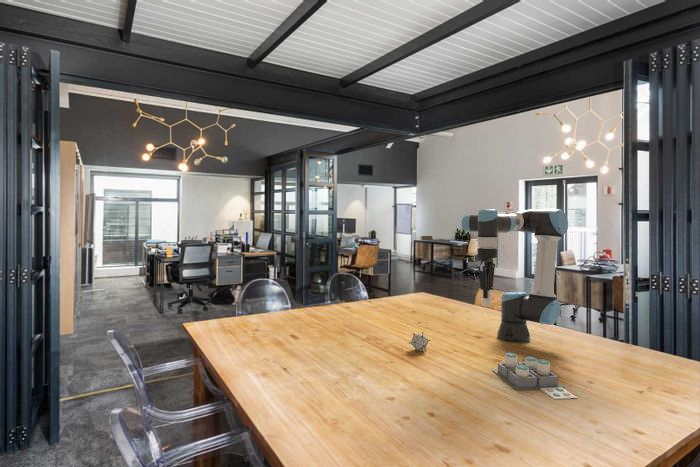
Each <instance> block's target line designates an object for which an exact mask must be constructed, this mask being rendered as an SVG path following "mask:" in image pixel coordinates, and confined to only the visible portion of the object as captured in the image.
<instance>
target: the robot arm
mask: <svg viewBox="0 0 700 467" xmlns="http://www.w3.org/2000/svg"><path fill="white" fill-rule="evenodd" d="M461 228H462V230H463V231H465V232H470V233H477V239H476V242H477V247H478V248H477V250H476V251H477V252H476V253H477V258H480V259H481V260H480V265H478V274H479V285H480V290H481V291H482V306H483V307H491V304H492V303H491V296H492V295H491V294H492V291H491V290H494V288H493V287H494V277H495V270H496V269H495V268H496V263H494V259H495V258H497V257H498V249H497V248H498V234H499V233H501V234H502V233H503V234H504V233H505V234H506V233H511V232H522V233H527V234H528V233H529V234H533V235H534V238H535V239H536V240H537V243H536V244H537V245H536V254H535V265H534V277H533V288H532V290H531V291H530V292H529V293H527V292H525V291H511V292H509V291H508V292H504V293H502V295H501V301H500V303H501V308H500V309H501V310H500V311H501V313H500V314H501V320H500V321H501V322H500V324H499V327H498V330H497V335H496V337H497V338H498V339H499V340H501V341H504V342H510V343H517V344H521V343H523V344H524V343H529V342H530V341H531V334H530V331H529V329H528V324H527V321H528V322H532V323H537V324H540V325H545V326H546V325H548V326H550V325H554V324H555V323H557V321H558V319H559V317H560V315H561V312H562V306H561V302H560V301H558V300H557V295H556V294H555V293H554V287H555V276H556V265H557V252H558V242H560V240H561V239H562V238H563V237H562V236H563V235H565V234H566V233H567V232H568V229H569V221H568V217H567V215H566V213H565V211H563V210H562V209H560V208H557V209H556V208H543V209H542V208H541V209H540V208H539V209H538V208H537V209H535V208H534V209H525V210H520V211H511V212H509V213H498V210H497V209H493V208H491V209H489V208H488V209H479V210H478V213H477V214H466V215H464V216H463V217H462V219H461Z"/></svg>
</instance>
